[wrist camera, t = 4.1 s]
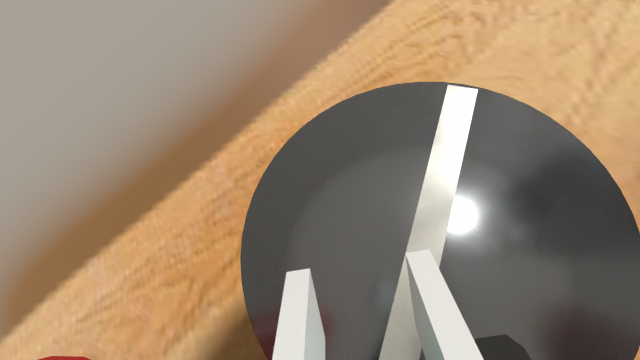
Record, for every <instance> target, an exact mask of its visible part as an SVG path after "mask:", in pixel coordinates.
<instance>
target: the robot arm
mask: <svg viewBox="0 0 640 360" xmlns="http://www.w3.org/2000/svg"><path fill="white" fill-rule="evenodd" d="M405 255H406V262H407V270H408V277H409V284H410V292H411V299H412V306H413V313H414V321H415V326H416V330H417V333H418V336H419V339H420V342H421V346H422V349H423V352H424V355H425V358H426V360H532V359H531V358H530V356H529V355H528V353H527V352H526V350H525V348H524V347H522V346H521V345H520V344H518V343H517V342H516V341H514V340H513V339H512V338H510V337H509V336H508V335H506V334H504V335H497V336H490V337H483V338H476V339H473V337H472V335H471V333H470V331H469V329H468V327H467V325H466V323H465V321H464V319H463V317H462V315H461V313H460V311H459V309H458V306H457V304H456V302H455V300H454V298H453V296H452V294H451V292H450V290H449V288H448V286H447V284H446V282H445V280H444V278H443V276H442V274H441V272H440V270H439V268H438V266H437V264H436V262H435V260H434V258H433V256H432V254H431V252H430V250H422V251H416V252H410V253H405ZM272 360H325V335H324V330H323V326H322V321H321V317H320V312H319V308H318V303H317V299H316V294H315V290H314V285H313V281H312V276H311V271H310V268H309V269H303V270H296V271H290V272H286V278H285V284H284V291H283V297H282V303H281V309H280V315H279V321H278V327H277V333H276V339H275V345H274V351H273V357H272Z"/></svg>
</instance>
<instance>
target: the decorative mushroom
mask: <svg viewBox="0 0 640 360" xmlns="http://www.w3.org/2000/svg"><path fill="white" fill-rule="evenodd" d="M39 360H90V359H88V358H86V357H69V356H50V357H46V358H43V359H39Z"/></svg>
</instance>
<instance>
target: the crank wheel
mask: <svg viewBox="0 0 640 360" xmlns="http://www.w3.org/2000/svg"><path fill="white" fill-rule="evenodd" d="M422 250H430V252H431V254H432V256H433V258H434V260H435V262H436V264H437V266H438V268H439V270H440V272H441V274H442V276H443V278H444V280H445V282H446V284H447V286H448V288H449V290H450V292H451V294H452V296H453V298H454V300H455V302H456V304H457V306H458V309H459V311H460V313H461V315H462V317H463V319H464V321H465V323H466V325H467V327H468V329H469V331H470V333H471V335H472V337H473V339H476V338H483V337H490V336H497V335H504V334H506V335H508V336H509V337H510V338H512V339H513V340H514V341H516V342H517V343H518V344H520V345H521V346H522V347H524V348H525V350H526V352H527V353H528V355H529V356H530V358H531V359H532V360H634V358H635V356H636V354H637V352H638V349H639V346H640V233H639V230H638V227H637V224H636V221H635V219H634V216H633V213H632V211H631V209H630V207H629V205H628V203H627V201H626V199H625V197H624V196H623V194H622V192H621V190H620V188H619V187H618V185H617V184H616V182H615V181H614V179H613V178H612V177H611V175H610V174H609V172H608V171H607V169H606V168H605V167H604V166H603V164H602V163H601V162H600V161H599V160H598V159H597V158H596V156H595V155H594V154H593V153H592V152H591V151H590V150H589V149H588V148H587V147H586V146H585V145H584V144H583V143H582V142H581V141H580V140H579V139H577V138H576V137H575V136H574V135H573V134H572V133H571V132H570V131H568V130H567V129H565V128H564V127H563V126H561V125H560V124H559V123H557V122H556V121H554V120H553V119H552V118H550V117H548V116H547V115H545V114H543V113H541V112H540V111H538V110H536V109H534V108H533V107H531V106H529V105H527V104H525V103H522V102H520V101H518V100H515V99H513V98H511V97H509V96H506V95H503V94H500V93H496V92H493V91H490V90H487V89H483V88H478V87H474V86H469V85H464V84H455V83H446V82H414V83H404V84H396V85H391V86H386V87H381V88H377V89H374V90H370V91H367V92H364V93H361V94H358V95H355V96H353V97H351V98H349V99H346V100H344V101H342V102H340V103H337V104H336V105H334V106H332V107H331V108H329V109H327V110H325V111H324V112H322V113H320V114H319V115H318V116H316V117H315V118H313V119H312V120H311V121H309V122H308V123H307V124H305V125H304V126H303V127H302V128H301V129H300V130H299V131H298V132H296V133H295V134H294V135H293V136H292V137H291V138H290V139H289V140H288V141H287V142H286V144H285V145H284V146H283V147H282V148H281V149H280V151H279V152H278V153H277V154H276V155H275V157H274V158H273V160H272V161H271V163H270V164H269V166H268V167H267V169H266V171H265V172H264V174H263V176H262V178H261V180H260V182H259V184H258V186H257V188H256V190H255V192H254V194H253V197H252V200H251V203H250V206H249V209H248V212H247V215H246V220H245V225H244V230H243V235H242V246H241V277H242V286H243V292H244V297H245V303H246V308H247V311H248V314H249V317H250V320H251V323H252V326H253V329H254V332H255V334H256V336H257V338H258V340H259V343H260V345H261V347H262V349H263V351H264V353H265V355H266V357H267V358H268V360H272V357H273V351H274V345H275V339H276V333H277V327H278V321H279V315H280V309H281V303H282V297H283V291H284V284H285V278H286V272H290V271H296V270H303V269H309V268H310V271H311V276H312V281H313V285H314V290H315V294H316V299H317V303H318V308H319V312H320V317H321V321H322V326H323V330H324V335H325V360H426V358H425V355H424V352H423V349H422V346H421V342H420V339H419V336H418V333H417V330H416V326H415V321H414V313H413V306H412V299H411V292H410V284H409V277H408V270H407V262H406V255H405V253H410V252H416V251H422Z"/></svg>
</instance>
